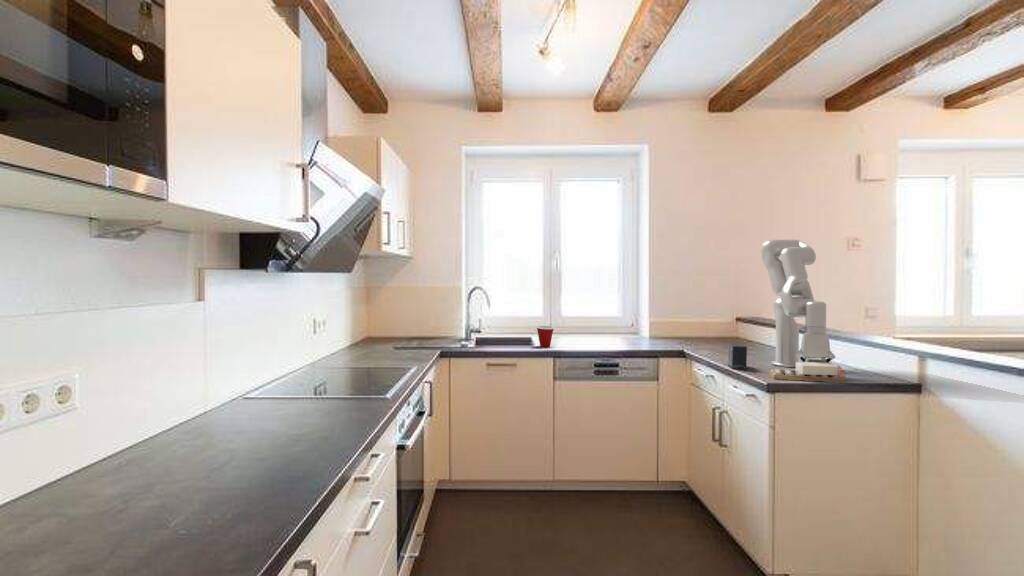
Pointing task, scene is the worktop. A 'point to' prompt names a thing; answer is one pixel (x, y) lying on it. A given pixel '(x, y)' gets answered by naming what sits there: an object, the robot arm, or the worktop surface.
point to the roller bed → (808, 376)
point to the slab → (817, 368)
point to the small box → (737, 356)
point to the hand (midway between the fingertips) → (815, 372)
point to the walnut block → (815, 360)
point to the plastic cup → (545, 335)
